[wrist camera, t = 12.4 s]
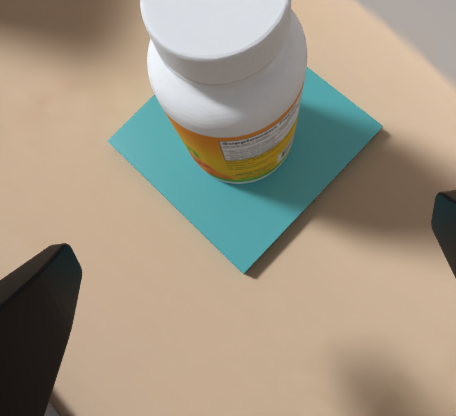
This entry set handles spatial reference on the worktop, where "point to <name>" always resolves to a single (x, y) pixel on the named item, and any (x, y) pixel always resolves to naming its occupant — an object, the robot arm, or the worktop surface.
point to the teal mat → (258, 190)
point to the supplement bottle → (228, 80)
